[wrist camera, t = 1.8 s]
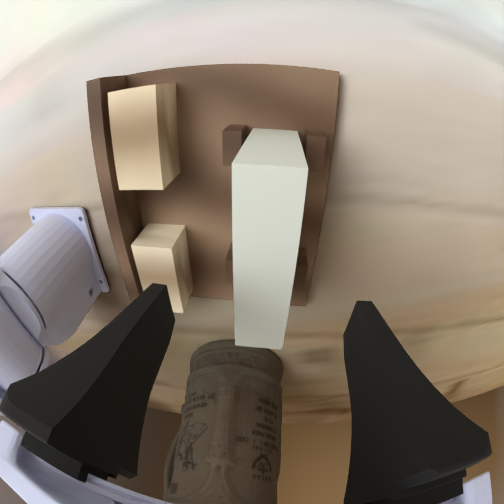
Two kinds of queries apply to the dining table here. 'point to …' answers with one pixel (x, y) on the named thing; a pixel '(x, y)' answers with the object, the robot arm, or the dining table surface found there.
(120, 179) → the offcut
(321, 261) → the dining table surface
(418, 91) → the dining table surface
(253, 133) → the panel
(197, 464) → the beer stein
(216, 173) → the rack
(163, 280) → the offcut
